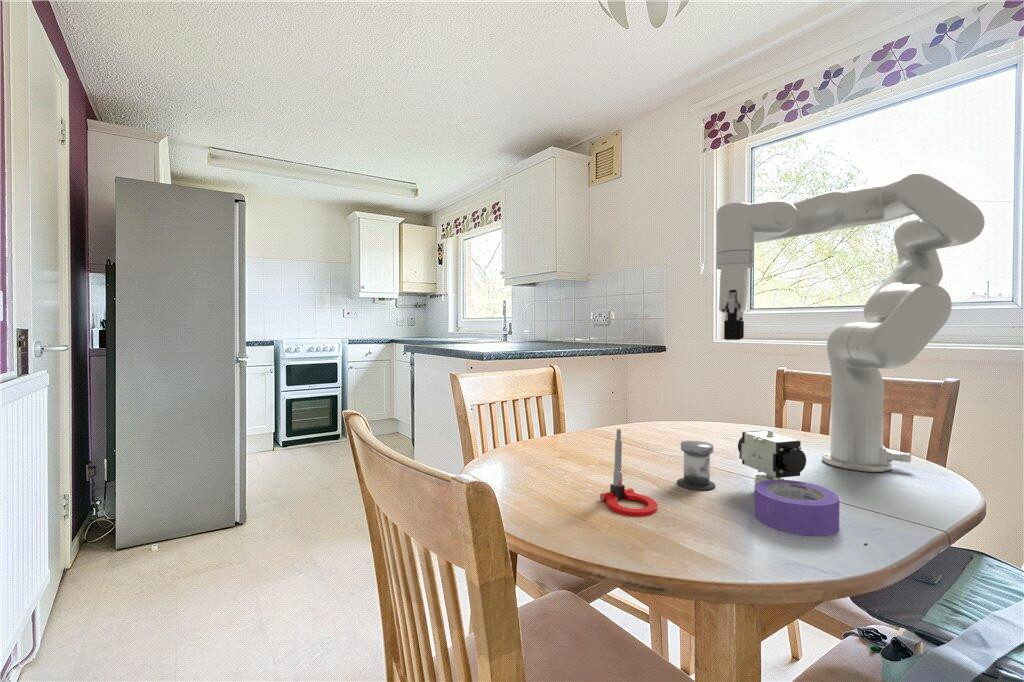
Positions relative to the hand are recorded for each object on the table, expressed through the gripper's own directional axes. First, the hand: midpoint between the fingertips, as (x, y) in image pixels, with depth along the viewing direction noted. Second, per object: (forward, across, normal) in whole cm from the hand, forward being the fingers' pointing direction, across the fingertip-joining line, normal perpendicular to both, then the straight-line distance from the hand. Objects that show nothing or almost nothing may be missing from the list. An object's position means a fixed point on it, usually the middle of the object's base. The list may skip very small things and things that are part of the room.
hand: (734, 339), depth 106 cm
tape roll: (+29, +28, +11) cm, 42 cm away
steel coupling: (+28, +17, -6) cm, 33 cm away
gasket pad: (+28, +17, -6) cm, 33 cm away
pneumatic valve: (+28, +17, +7) cm, 34 cm away
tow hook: (+29, +34, -14) cm, 47 cm away
